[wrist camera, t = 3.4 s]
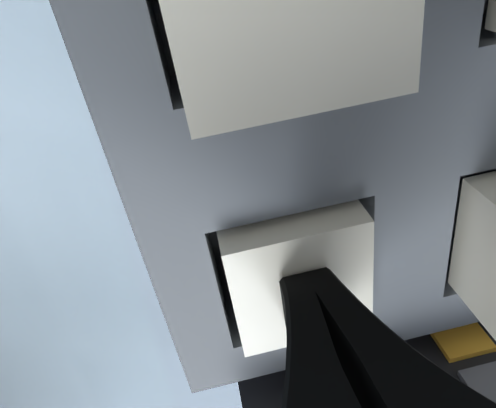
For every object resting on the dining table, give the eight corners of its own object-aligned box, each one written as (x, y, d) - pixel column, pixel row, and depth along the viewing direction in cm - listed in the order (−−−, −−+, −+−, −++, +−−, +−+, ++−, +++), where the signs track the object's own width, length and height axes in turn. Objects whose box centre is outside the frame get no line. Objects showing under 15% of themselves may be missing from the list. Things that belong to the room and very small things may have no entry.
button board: (703, -331, 10) (1351, -632, 5) (532, 272, 20) (670, 400, 15) (-15, -224, 9) (-278, -455, 4) (187, 356, 19) (199, 526, 14)
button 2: (338, 172, 14) (373, 221, 11) (341, 268, 16) (372, 326, 14) (210, 200, 13) (221, 256, 11) (232, 294, 15) (244, 357, 13)
